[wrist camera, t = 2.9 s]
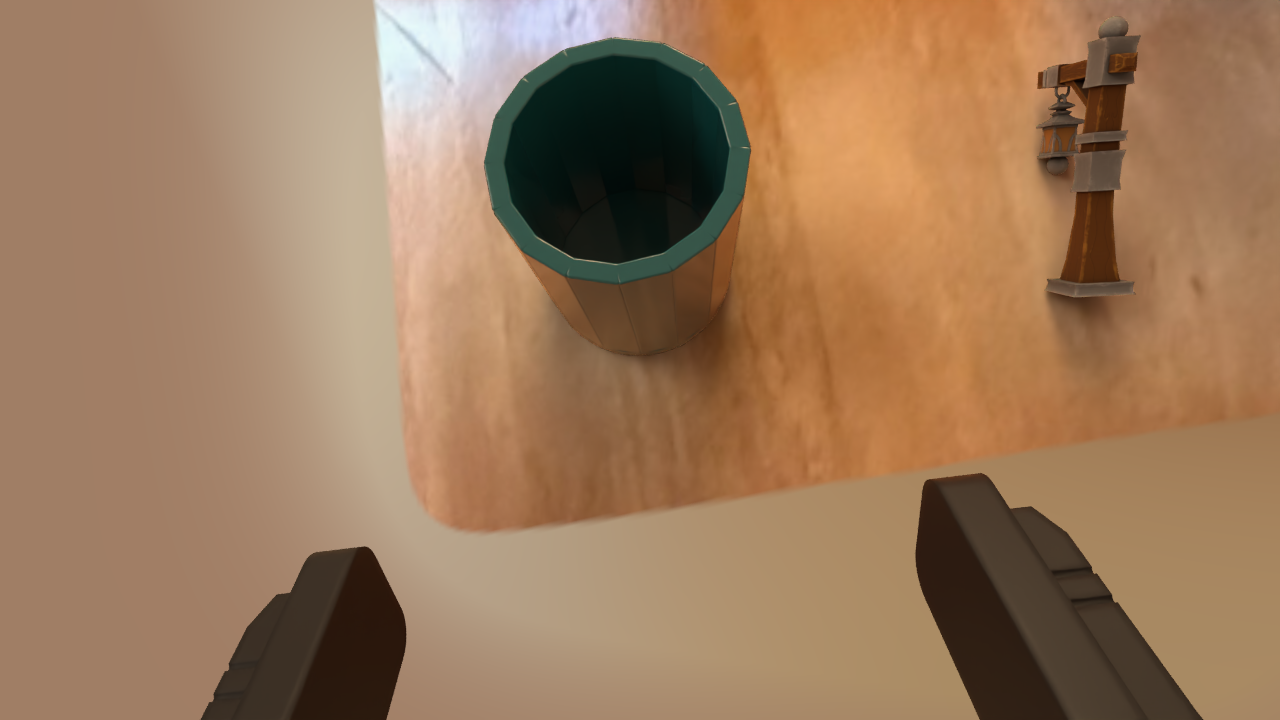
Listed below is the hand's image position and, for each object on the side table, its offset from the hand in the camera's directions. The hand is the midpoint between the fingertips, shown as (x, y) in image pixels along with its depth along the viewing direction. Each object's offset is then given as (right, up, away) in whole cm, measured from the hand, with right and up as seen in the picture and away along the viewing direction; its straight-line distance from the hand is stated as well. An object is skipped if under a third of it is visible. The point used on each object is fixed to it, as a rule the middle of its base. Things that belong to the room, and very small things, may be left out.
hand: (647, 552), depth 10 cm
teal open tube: (0, +6, +14) cm, 15 cm away
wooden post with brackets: (+14, +8, +14) cm, 21 cm away
